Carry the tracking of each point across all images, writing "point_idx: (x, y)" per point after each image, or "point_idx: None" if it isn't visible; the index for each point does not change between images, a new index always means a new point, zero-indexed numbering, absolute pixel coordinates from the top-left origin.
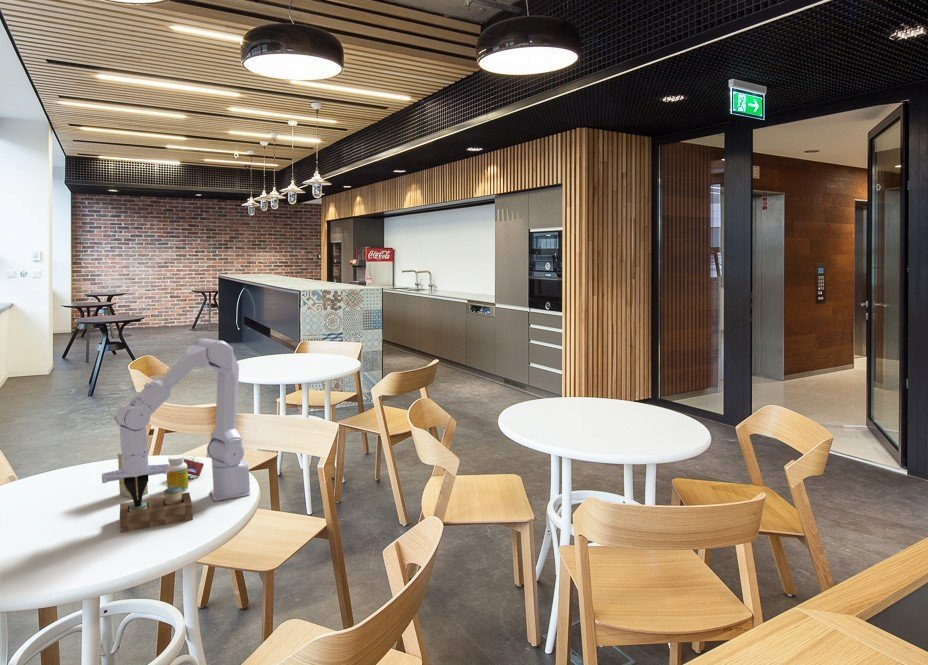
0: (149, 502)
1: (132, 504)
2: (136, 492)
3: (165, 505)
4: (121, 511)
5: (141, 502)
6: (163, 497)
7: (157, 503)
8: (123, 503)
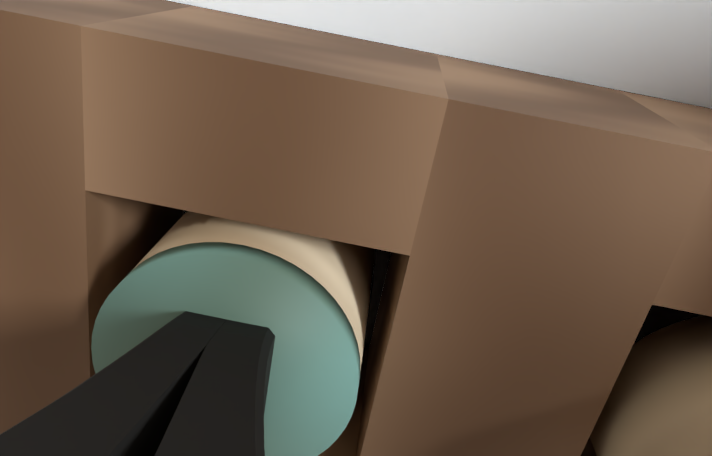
0: (418, 294)
1: (143, 304)
2: (127, 438)
3: (593, 432)
4: (11, 371)
5: (286, 307)
6: (706, 211)
7: (507, 406)
8: (7, 38)
